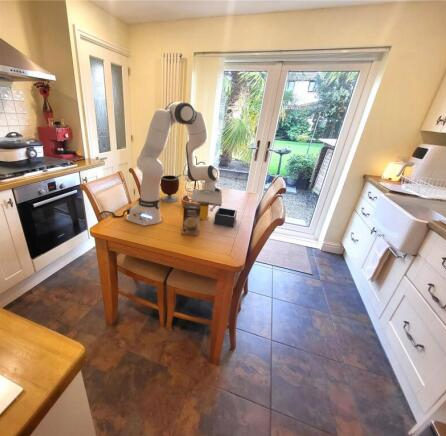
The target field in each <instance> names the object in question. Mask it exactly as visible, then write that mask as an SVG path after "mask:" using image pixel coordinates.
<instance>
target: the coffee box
mask: <svg viewBox="0 0 446 436" xmlns="http://www.w3.org/2000/svg"><path fill="white" fill-rule="evenodd" d="M200 208H201V206H200V204H197V205H196V204H191V203H184V205H183V215H182V218H183V219H182V231H181V234H182V235H188V236H189V235H190V236H199V231H200V230H199V229H200V220H201V219H200Z"/></svg>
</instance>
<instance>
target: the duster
mask: <svg viewBox="0 0 446 436" xmlns="http://www.w3.org/2000/svg"><path fill="white" fill-rule="evenodd" d="M199 205H200V206H201V208H200V219H199V220H203V221H206V220H208V218H209V209H210V208H209V206H210V205H209V203H205V202H202V203H199Z"/></svg>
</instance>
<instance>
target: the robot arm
mask: <svg viewBox="0 0 446 436" xmlns="http://www.w3.org/2000/svg"><path fill="white" fill-rule="evenodd" d="M174 124H176V125H185V127H186V129H187V135H188V141H187V142H186V144H185V154H186V164H187V169H186V172H187V175H186V176H187V177H188V179H189V180H190V181H191V182H198V181H200V182H201V181H203V182H204V183H203V185H202V189H201V188H195V189H193V190H192V193H191V196H190V201H191V202H192V203H194V205H199V204H201V203H202V202H205V203H209V206H212V207H210V208H209V211H210V212H213V211H214V210H215V208H216V207H222V206H223V191H222V189H220V188H219V187H218V184H219V179H220V170H219V169H218V167H215V166H214V165H212V164H202V165H197V164H196V156H195V155H196V154H195V153H196V150H198V149H200V148H201V147H203V146H204V145H205V144H206V143H207V141H208V140H209V132H208V127H207V124H206V120H205V116H204V114H203V112H202V111H201V110H196V109H195V108H194V106H193V105H191V103H189V102H186V101H172V102H170V103H169V104H167V106H166V107H165V108H158V109H157V110H156V111H154V113H153V116H152V118H151V121H150V124H149V126H148V131H147V135H146V139H145V141H144V144H143V147H142V149H141V151H140V153H139V156H138V157H137V158H136V166H137V169H138V170H139V171H140V172H141V175H142V176H141V177H142V178H141V184H140V187H139V188H140V197H138V199H136V202H137V203H136V204H135V205H133V206H128V208H127V209H125V210H124V211H123V212H122V214H121V215H115V213H114V212H112V211H109V210H103V211H101V212H99V215H102V214H104V213H107V214H112V216H113V217H114V218H121V217H122V218H123V217H124V216H125V213H126V214H127V215H126V216H125V221H128V222H131V223H134V224H136V225H137V224H138V225H140V226H144V227H146V226H149V225H157V224H160V223H161V222H162V220H163V218H162V214H161V198H160V187H161V177H162V176H164V172H165V168H164V165H163V163H162V162H161V160H159V158H160V156H161V154H162V153H163V151H164V150H165V149H166V146H167V143H168V139H169V135H170V132H171V128H172V127H173V125H174Z"/></svg>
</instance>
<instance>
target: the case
mask: <svg viewBox="0 0 446 436" xmlns="http://www.w3.org/2000/svg"><path fill="white" fill-rule="evenodd" d="M237 213H238V210H237V209H232V208H224V207H221V206H218V208H217V210H216V212H215V213H214V222H213V224H214V225H218V226H222V227H228V228H234V226H235V223H236V220H237Z"/></svg>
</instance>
